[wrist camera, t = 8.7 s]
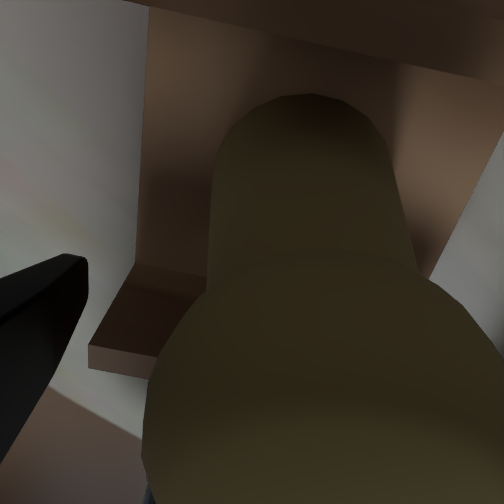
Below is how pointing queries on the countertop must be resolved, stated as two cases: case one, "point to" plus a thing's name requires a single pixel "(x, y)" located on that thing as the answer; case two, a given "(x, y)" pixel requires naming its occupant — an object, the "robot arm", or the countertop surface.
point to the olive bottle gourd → (320, 337)
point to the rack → (293, 83)
